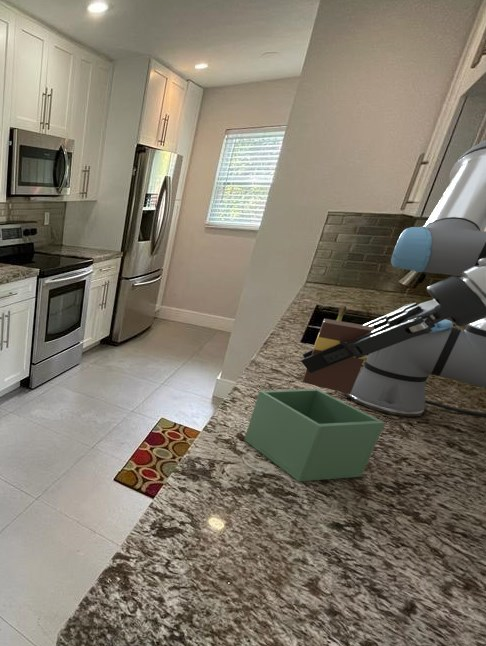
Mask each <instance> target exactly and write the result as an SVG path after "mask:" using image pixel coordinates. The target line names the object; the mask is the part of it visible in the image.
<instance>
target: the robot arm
mask: <svg viewBox="0 0 486 646" xmlns="http://www.w3.org/2000/svg"><path fill="white" fill-rule="evenodd" d="M448 181H449V184H448V186H447V187H446V189H445V191H444V192H443V194H442V196H441V197H440V199H439V201H438V202H437V204H436V206H435V208H434V209H433V211H432V212H431V214H430V216H429V218H428V219H427V220H426V222H425V224H424V225H423V226H411V227H407V228H405V229H404V230H403V231H402V232H401V233H400V235H399V237H398V239H397V242H396V244H395V247H394V249H393V252H392V254H391V258H390V259H391V260H390V264H391V265H392V267H394V268H396V269H401V270H407V271H414V272H416V273H430V274H438V275H447V276H448V277H446V278H444V279H442V280H439V281H437V282H435V283H433V284H430V285H429V286H427V287H426V292H427V293H428V294H429V295H430V297H431V298H432V299H430V300H426V301H424V302H421V303H417V302H413V303H406V304H404V305H403V306H401V307H399V308H397V309H395V310H394V311H391V312H389V313H387V314H385V315H382V316H380V317H377V318H376V319H373V320H371V321H369V322H366V323H364V324H363V325H366V326H372V327H374V328H375V330H373V331H371V332H369V333H366V334H364V335H362V336H360V337H358V338H356V339H353V340H351V341H349V342H345V341H344V340H341V341H339V342H340V344H338V345H335V346H333V347H330V348H328V349H326V350H323V351H321V352H318V353H316V354H314V355H312V352H313V349H310V350H309V351H306V352H304V353H302V356H303V358H302V359H300V362H301V363H302V365H303V366H304V367H305V368H306V369H307V370H308V371H309V372H310V373H312V372H314V371H317V370H319V369H322V368H324V367H327V366H330V365H332V364H335V363H337V362H340V361H342V360H345V359H347V358H350V357H356V358H361V357H362V356H365V355H366V357H367V358H366V360H365V363H364V364H363V367H362V369H360V371H359V374H358V376H357V379H356V381H355V384H354V386H353V389H352V391H351V394H347V393H343V394H344V396H345V397H346V398H347V399H349V400H350V401H352V402H353V403H356V404H359V405H360V406H363V407H365V408H369V409H371V410H375V411H377V412H380V413H384V414H389V415H393V416H399V417H407V418H408V417H411V418H412V417H413V418H414V417H419V416H422V415H423V413H424V411H425V410H426V409H425V408H426V405H431V406H434V407H439V408H441V409H446V410H449V411H453V412H457V413H462V414H469V415H475V416H481V417H486V412H482V411H474V410H468V409H462V408H457V407H453V406H450V405H446V404H442V403H439V402H435V401H431V400H427V399H426V382H427V380H428V378H429V376H430V375H432V376H437V377H441V378H445V379H449V380H452V381H457V382H461V383H465V384H469V385H473V386H476V387H477V386H478V387H481V388H484V389H486V231H485V230H486V139H484V140H482V141H481V142H479V143H477V144H476V145H474V146H473V147H471V148H469V149H468V150H466V151H465V152H464V153H463V154H462V155H461V156H460V157H459V158H458V159H457V160H456V162H455V163H454V164H453V166H452V168H451V169H450V172H449V175H448ZM449 319H450V320H449ZM454 324H455V325H456V326H458V327H464V326H466V327H465V329H462V328H455V327H454Z"/></svg>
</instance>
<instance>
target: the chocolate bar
mask: <svg viewBox="0 0 486 646" xmlns="http://www.w3.org/2000/svg"><path fill="white" fill-rule="evenodd" d="M336 320H337V319H330V318H323V320H322V323H321V326H320V329H319V332H318V334H317V337H316V339H315V342H314V346H313V349H312V350H313V352H312V355H314V354H316V353H318V352H321V351H323V350H326V349H328V348H330V347H333V346H335V345H338V344H340V342H339V341H341V340H344V341H345V342H349V341H351V340H353V339H356V338H358V337H360V336H362V335H364V334H366V333H369V332H371V331H373V330H375V328H374V327H372V326H366V325H364V324H359V323H353V322H347V321H336ZM366 357H367V355H365V356H362V357H361V358H356V357H350V358H347V359H345V360H342V361H340V362H337V363H335V364H332V365H330V366H327V367H324V368H322V369H319V370H317V371H314V372H312V373H310V372H309V371H308V370H307V368H306V369H305V372H304V376H303V377H302V383H303V384H308V385H311V386H316V387H320V388H324V389H327V390H332V391H336V392H340V393H343V394H344V393H347V394H351V391H352V389H353V386H354V384H355V381H356V379H357V376H358V374H359V372H360V371H361V370H362V369H361V368H362V366H363V365H364V361H365V359H366Z"/></svg>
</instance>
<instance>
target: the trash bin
mask: <svg viewBox="0 0 486 646" xmlns="http://www.w3.org/2000/svg"><path fill="white" fill-rule="evenodd" d="M385 424H386V422H384V421H382V420H380V419H378V418H376V417H374V416H372V415H370V414H368V413H366V412H364V411H362V410H360V409H358V408H357V407H355V406H352V405H350V404H348V403H346V402H345V401H343V400H340V399H338V398H336V397H334V396H332V395H330V394H328V393H326V392H325V391H322V390H320V389H318V388H306V389H305V388H303V389H277V390H259V392H258V394H257V398H256V400H255V404H254V407H253V410H252V413H251V417H250V421H249V424H248V427H247V429H246V430H247V431H246V433H245V435H244V436H245V437H244V439H243V440H244V441H245V442H246V443H247V444H249V445H250V446H251V447H253V448H254V449H256V450H257V451H258V452H259V453H261V455H263V456H264V457H266V458H267V459H269V460H270V461H271V462H272V463H274V465H276V466H278V467H279V468H280V469H282V470H283V471H284V472H285V473H287V474H288V475H289V476H291V477H292V478H293V479H294V480H296V481H297V482H310V481H323V480H333V479H335V480H337V479H349V478H360V477H362V475H363V473H364V471H365V469H366V467H367V465H368V462H369V460H370V458H371V456H372V453H373V451H374V449H375V446H376V445H377V443H378V440H379V437H380V436H381V433H382V431H383V429H384V427H385Z"/></svg>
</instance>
